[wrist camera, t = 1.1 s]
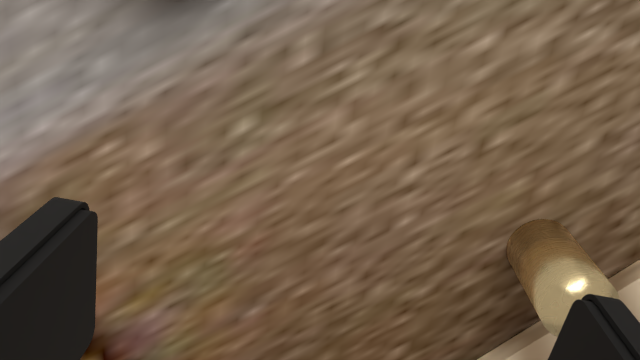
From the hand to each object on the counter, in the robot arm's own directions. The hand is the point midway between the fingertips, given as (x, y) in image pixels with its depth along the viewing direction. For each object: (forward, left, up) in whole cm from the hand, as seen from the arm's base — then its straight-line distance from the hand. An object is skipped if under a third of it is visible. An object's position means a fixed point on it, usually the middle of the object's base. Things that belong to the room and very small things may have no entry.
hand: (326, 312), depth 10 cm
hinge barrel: (-11, +14, -24) cm, 31 cm away
